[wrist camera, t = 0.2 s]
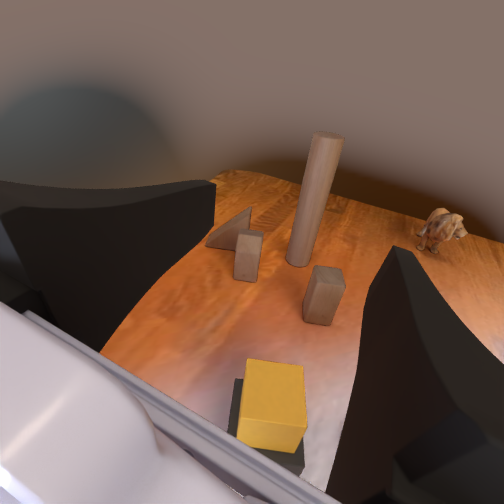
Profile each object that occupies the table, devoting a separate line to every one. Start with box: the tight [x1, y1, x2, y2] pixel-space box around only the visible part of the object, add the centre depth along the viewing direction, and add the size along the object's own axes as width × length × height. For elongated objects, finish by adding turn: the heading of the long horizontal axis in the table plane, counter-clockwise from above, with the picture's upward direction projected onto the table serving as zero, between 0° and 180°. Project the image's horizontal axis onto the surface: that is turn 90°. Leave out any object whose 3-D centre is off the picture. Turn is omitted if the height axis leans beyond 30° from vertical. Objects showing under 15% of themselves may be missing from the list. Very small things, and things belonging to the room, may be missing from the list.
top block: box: [236, 358, 307, 453], centre depth 21 cm, size 4×4×4 cm
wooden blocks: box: [205, 132, 346, 325], centre depth 36 cm, size 17×20×20 cm
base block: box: [227, 379, 305, 477], centre depth 23 cm, size 6×6×3 cm
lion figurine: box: [416, 208, 468, 254], centre depth 53 cm, size 15×5×9 cm, turn 159°
